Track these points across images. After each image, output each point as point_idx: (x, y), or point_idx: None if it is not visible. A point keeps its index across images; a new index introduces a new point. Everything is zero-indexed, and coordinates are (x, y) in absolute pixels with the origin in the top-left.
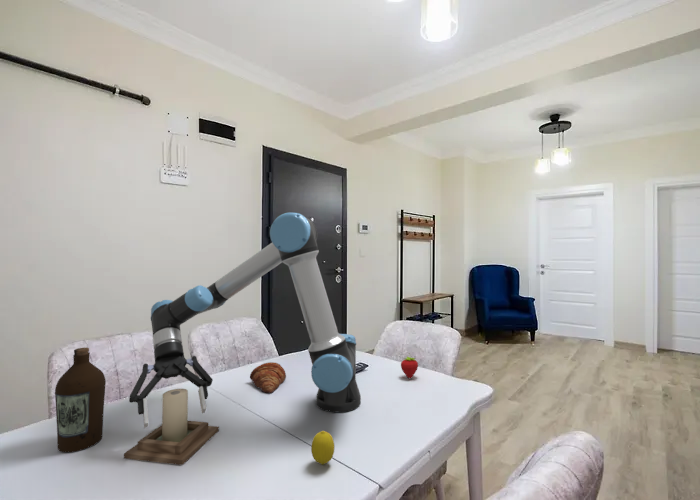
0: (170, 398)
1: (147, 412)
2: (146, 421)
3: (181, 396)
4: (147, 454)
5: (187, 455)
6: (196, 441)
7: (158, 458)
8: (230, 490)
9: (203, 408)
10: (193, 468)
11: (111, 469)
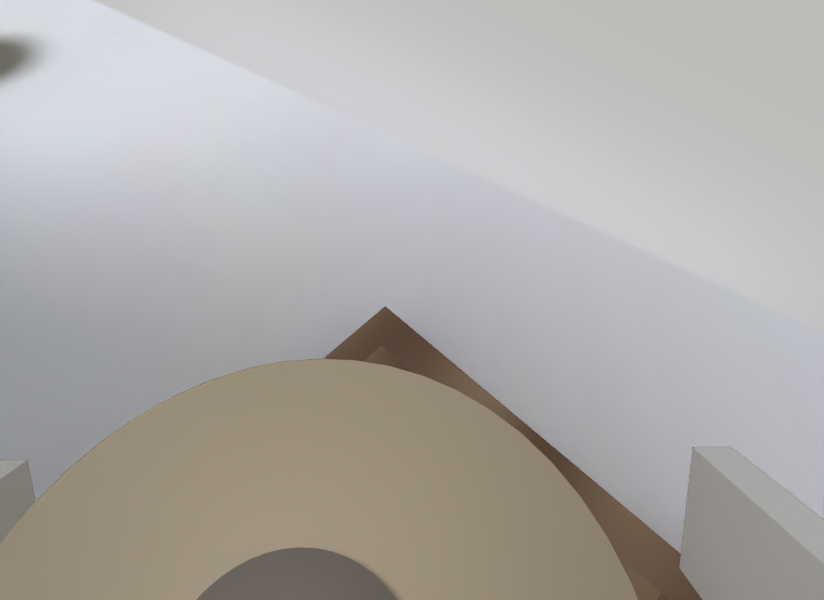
0: (456, 402)
1: (798, 533)
2: (727, 460)
3: (227, 389)
4: (586, 497)
5: (351, 335)
6: None
7: (510, 414)
8: (273, 99)
9: (19, 462)
10: (345, 270)
11: None
